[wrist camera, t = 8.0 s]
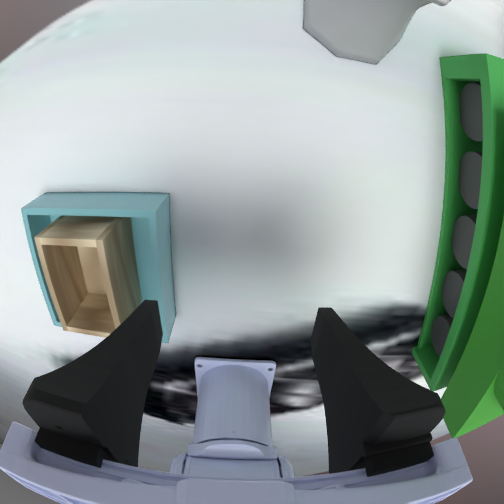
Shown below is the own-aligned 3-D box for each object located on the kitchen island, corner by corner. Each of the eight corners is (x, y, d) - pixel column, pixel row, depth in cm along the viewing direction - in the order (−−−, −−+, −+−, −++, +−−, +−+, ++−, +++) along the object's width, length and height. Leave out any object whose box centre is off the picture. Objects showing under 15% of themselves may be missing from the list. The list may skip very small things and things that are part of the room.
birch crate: (130, 209, 20) (102, 240, 16) (142, 299, 24) (124, 340, 20) (68, 209, 20) (34, 237, 16) (86, 293, 24) (63, 330, 20)
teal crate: (175, 315, 26) (168, 343, 23) (69, 302, 25) (54, 325, 22) (169, 193, 21) (155, 210, 17) (45, 192, 20) (21, 208, 17)
